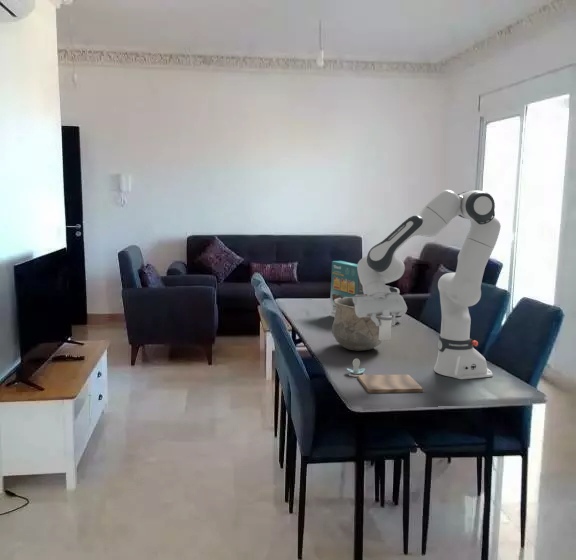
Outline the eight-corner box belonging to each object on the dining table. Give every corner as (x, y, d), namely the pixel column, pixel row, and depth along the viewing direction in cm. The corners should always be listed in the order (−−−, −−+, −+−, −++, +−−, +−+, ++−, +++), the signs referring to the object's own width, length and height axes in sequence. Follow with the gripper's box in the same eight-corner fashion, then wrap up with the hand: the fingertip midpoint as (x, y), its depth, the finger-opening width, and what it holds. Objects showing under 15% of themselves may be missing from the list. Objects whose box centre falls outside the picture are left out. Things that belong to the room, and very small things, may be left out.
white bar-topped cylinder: (388, 337, 235) (390, 308, 234) (392, 341, 231) (394, 311, 229) (376, 337, 235) (378, 308, 233) (380, 341, 230) (381, 311, 228)
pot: (390, 357, 265) (393, 308, 262) (335, 356, 263) (337, 307, 260) (377, 341, 290) (380, 296, 286) (327, 340, 288) (329, 295, 284)
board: (408, 377, 239) (408, 374, 239) (422, 391, 223) (423, 388, 223) (357, 378, 236) (357, 375, 236) (368, 392, 221) (368, 389, 220)
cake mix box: (364, 323, 325) (367, 266, 320) (355, 324, 322) (358, 267, 317) (338, 314, 343) (340, 260, 338) (329, 315, 340) (332, 261, 335)
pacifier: (367, 378, 238) (363, 372, 244) (368, 362, 236) (364, 357, 242) (348, 378, 237) (345, 372, 243) (349, 362, 236) (346, 357, 241)
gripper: (353, 290, 233) (363, 321, 226) (402, 288, 239) (413, 319, 232) (348, 299, 238) (357, 330, 231) (396, 297, 244) (407, 328, 237)
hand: (386, 325), depth 231 cm, fingers closed on white bar-topped cylinder, 4 cm apart
